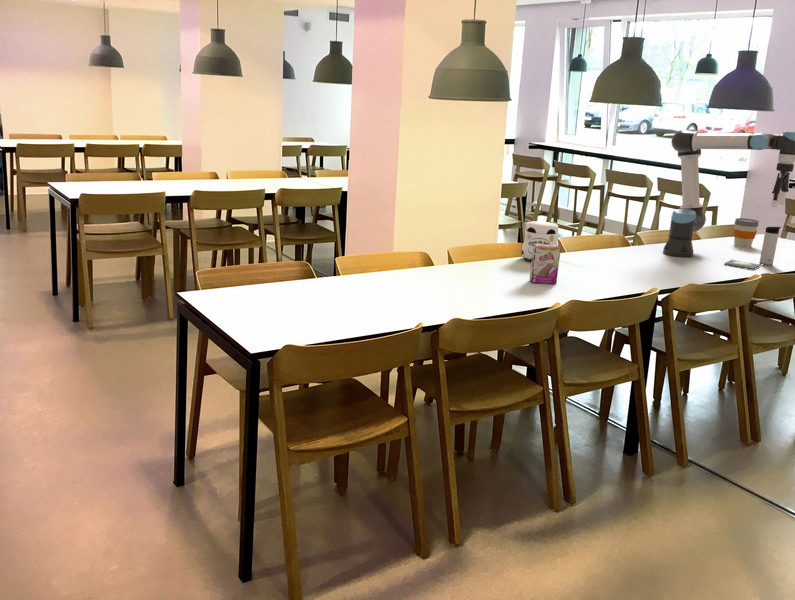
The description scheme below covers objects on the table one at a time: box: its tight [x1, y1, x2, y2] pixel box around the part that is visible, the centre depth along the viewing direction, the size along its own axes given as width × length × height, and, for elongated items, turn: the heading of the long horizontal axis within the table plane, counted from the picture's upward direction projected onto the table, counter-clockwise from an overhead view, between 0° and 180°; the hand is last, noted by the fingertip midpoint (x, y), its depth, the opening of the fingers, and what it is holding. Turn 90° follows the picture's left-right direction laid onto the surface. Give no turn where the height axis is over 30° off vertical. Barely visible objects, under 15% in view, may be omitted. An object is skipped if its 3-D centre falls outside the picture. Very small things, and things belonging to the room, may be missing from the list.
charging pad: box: [723, 259, 761, 270], centre depth 386 cm, size 14×12×1 cm
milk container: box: [521, 220, 559, 262], centre depth 371 cm, size 17×17×18 cm
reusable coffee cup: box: [733, 217, 759, 248], centre depth 438 cm, size 13×13×15 cm
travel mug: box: [759, 226, 781, 267], centre depth 389 cm, size 6×7×20 cm
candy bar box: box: [528, 244, 562, 285], centre depth 328 cm, size 11×5×16 cm, turn 92°
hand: (777, 205), depth 384 cm, fingers open, 13 cm apart
